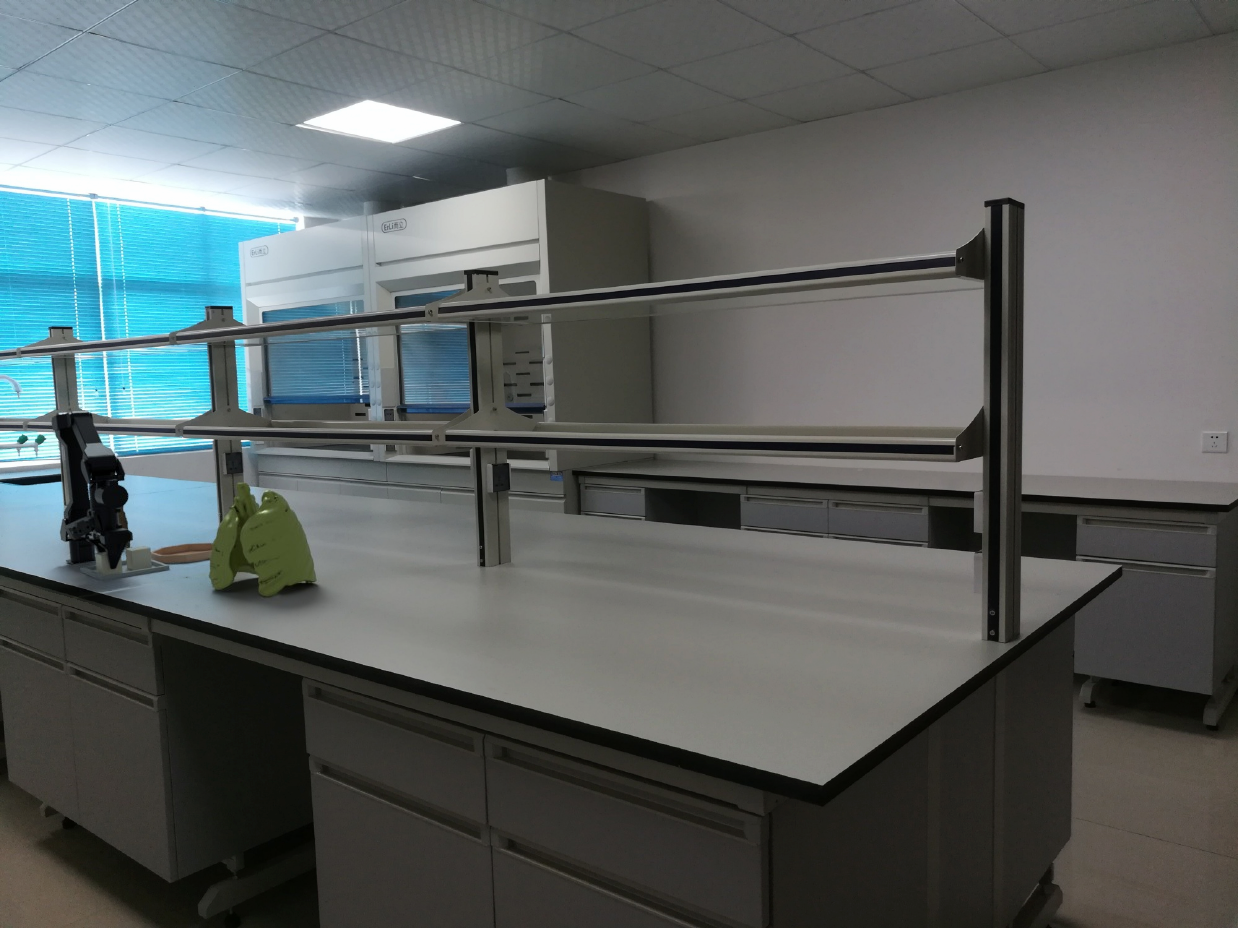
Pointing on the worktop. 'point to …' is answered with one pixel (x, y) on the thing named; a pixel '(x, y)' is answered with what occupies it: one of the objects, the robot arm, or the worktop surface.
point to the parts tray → (124, 571)
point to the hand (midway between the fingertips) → (109, 567)
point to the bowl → (183, 553)
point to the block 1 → (106, 564)
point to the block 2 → (138, 558)
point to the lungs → (261, 544)
